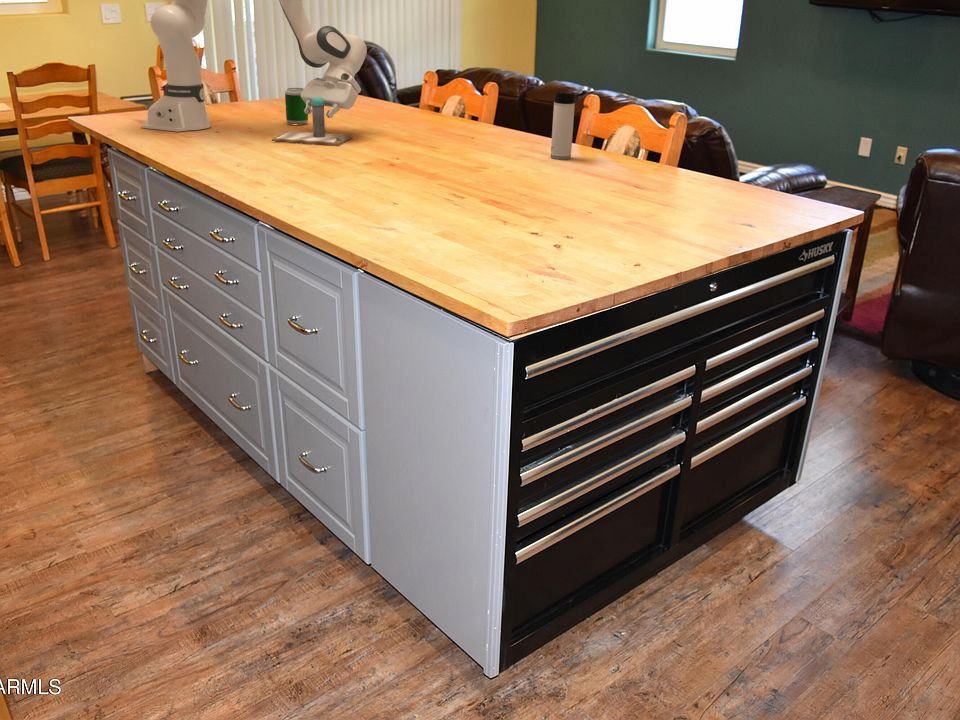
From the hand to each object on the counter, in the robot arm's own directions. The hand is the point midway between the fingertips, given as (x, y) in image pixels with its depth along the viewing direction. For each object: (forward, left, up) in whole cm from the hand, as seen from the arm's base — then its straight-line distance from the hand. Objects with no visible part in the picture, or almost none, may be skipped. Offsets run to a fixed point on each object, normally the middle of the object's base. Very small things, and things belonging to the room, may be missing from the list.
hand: (317, 114), depth 290 cm
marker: (0, 0, -7) cm, 7 cm away
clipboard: (-2, -1, -8) cm, 8 cm away
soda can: (-16, +25, -8) cm, 31 cm away
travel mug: (+79, -5, -8) cm, 80 cm away
